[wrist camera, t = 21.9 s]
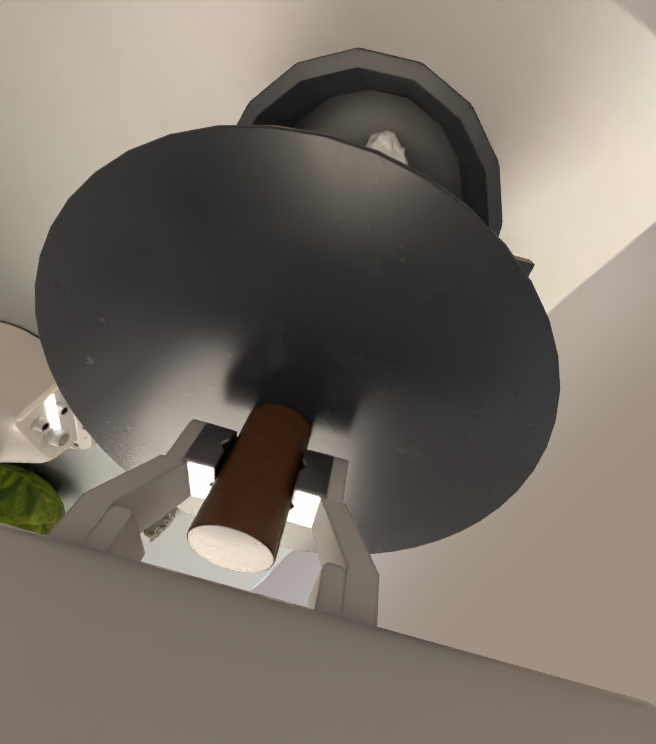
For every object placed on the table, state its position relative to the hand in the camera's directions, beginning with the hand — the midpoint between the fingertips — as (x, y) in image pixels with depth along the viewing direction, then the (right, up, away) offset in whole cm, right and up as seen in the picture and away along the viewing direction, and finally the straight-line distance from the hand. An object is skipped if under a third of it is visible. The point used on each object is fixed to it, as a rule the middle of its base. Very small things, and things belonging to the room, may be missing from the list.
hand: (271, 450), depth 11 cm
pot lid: (0, +1, +1) cm, 2 cm away
